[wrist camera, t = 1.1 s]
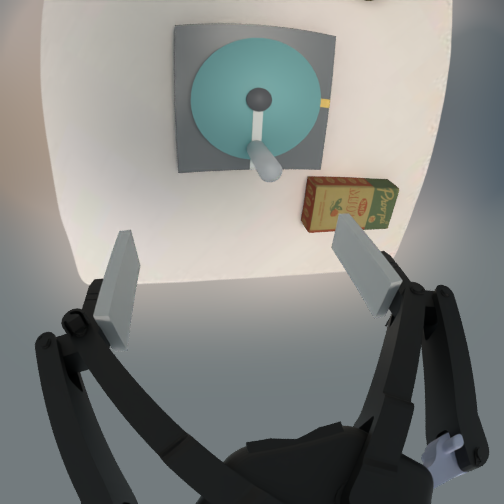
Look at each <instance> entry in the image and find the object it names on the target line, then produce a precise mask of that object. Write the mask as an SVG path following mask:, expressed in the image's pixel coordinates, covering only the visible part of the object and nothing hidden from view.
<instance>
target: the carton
mask: <svg viewBox="0 0 504 504" xmlns="http://www.w3.org/2000/svg"><path fill="white" fill-rule="evenodd" d="M398 193H399V188H398V187H397V186H396V185H394V184H393V183H392V182H390V181H389V180H388V179H369V178H350V177H310V176H308V179H307V186H306V193H305V199H304V205H303V211H302V217H301V221H302V223H303V225H304V227H305V228H306V230H307V231H308V232H309V233H314V232H329V231H335V230H336V225H337V220H338V216H339V214H348V213H349V214H350V215H351V217H352V218H353V219H354V220H355V221H356V222H357V224H358V225H359V226H360V227H361V228H362V229H363V230H369V229H386V228H388V225H389V222H390V219H391V216H392V213H393V209H394V206H395V203H396V199H397V196H398Z"/></svg>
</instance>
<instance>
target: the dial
mask: <svg viewBox="0 0 504 504" xmlns="http://www.w3.org/2000/svg"><path fill="white" fill-rule="evenodd" d="M320 104H321V91H320V85H319V81H318V78H317V76H316V73H315V72H314V70H313V68H312V66H311V65H310V64H309V62H308V61H307V60H306V59H305V58H304V57H303V56H302V55H301V54H300V53H299V52H298V51H296V50H295V49H294V48H292V47H290V46H288V45H287V44H284V43H282V42H279V41H276V40H272V39H266V38H247V39H242V40H238V41H234V42H232V43H229V44H227V45H225V46H223V47H222V48H220V49H218V50H217V51H216V52H214V53H213V54H212V55H211V56H210V57H209V58H208V59H207V60H206V61H205V62H204V63H203V65H202V66H201V67H200V69H199V71H198V73H197V75H196V77H195V79H194V82H193V86H192V91H191V109H192V114H193V117H194V120H195V123H196V125H197V127H198V128H199V130H200V132H201V133H202V134H203V136H204V137H205V138H206V139H207V140H208V141H209V142H210V143H211V144H212V145H213V146H215V147H216V148H217V149H219V150H221V151H222V152H224V153H227V154H229V155H231V156H234V157H238V158H243V159H251V160H252V162H253V164H254V166H255V168H256V170H257V172H258V174H259V176H260V177H261V179H262V180H264V181H266V182H274V181H276V180H278V179H279V178H280V176H281V174H282V167H281V165H280V164H279V162H278V161H277V160H276V158H275V156H278V155H280V154H283V153H285V152H287V151H289V150H290V149H292V148H294V147H295V146H296V145H298V144H299V143H300V142H301V141H302V140H303V139H304V138H305V137H306V136H307V135H308V133H309V132H310V131H311V129H312V127H313V126H314V124H315V122H316V120H317V117H318V114H319V110H320Z"/></svg>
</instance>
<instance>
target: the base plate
mask: <svg viewBox="0 0 504 504" xmlns="http://www.w3.org/2000/svg"><path fill="white" fill-rule="evenodd" d="M247 38H266V39H272V40H276V41H279V42H282V43H284V44H287V45H288V46H290V47H292V48H294V49H295V50H296V51H298V52H299V53H300V54H301V55H302V56H303V57H304V58H305V59H306V60H307V61H308V62H309V64H310V65H311V66H312V68H313V70H314V72H315V73H316V76H317V78H318V81H319V85H320V91H321V104H320V110H319V114H318V117H317V120H316V122H315V124H314V126H313V127H312V129H311V131H310V132H309V133H308V135H307V136H306V137H305V138H304V139H303V140H302V141H301V142H300V143H299V144H298V145H296V146H295V147H294V148H292V149H290V150H289V151H287V152H285V153H283V154H280V155H278V156H275V158H276V160H277V161H278V162H279V164H280V165H281V167H282V169H314V170H320V169H321V163H322V156H323V149H324V142H325V135H326V127H327V120H328V112H329V106H330V95H331V85H332V76H333V65H334V54H335V42H336V36H332V35H327V34H322V33H317V32H312V31H306V30H299V29H293V28H285V27H276V26H266V25H253V24H189V25H175V51H174V85H175V122H176V143H177V159H178V173H187V172H202V171H221V170H249V169H250V170H254V169H256V168H255V166H254V164H253V162H252V160H251V159H243V158H238V157H234V156H231V155H229V154H227V153H224V152H222V151H221V150H219V149H217V148H216V147H215V146H213V145H212V144H211V143H210V142H209V141H208V140H207V139H206V138H205V137H204V136H203V134H202V133H201V132H200V130H199V128H198V127H197V125H196V123H195V120H194V117H193V114H192V109H191V91H192V86H193V82H194V79H195V77H196V75H197V73H198V71H199V69H200V67H201V66H202V65H203V63H204V62H205V61H206V60H207V59H208V58H209V57H210V56H211V55H212V54H213V53H214V52H216V51H217V50H218V49H220V48H222V47H223V46H225V45H227V44H229V43H232V42H234V41H238V40H242V39H247Z"/></svg>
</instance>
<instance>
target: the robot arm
mask: <svg viewBox="0 0 504 504" xmlns="http://www.w3.org/2000/svg"><path fill="white" fill-rule="evenodd" d="M331 248H332V249H333V251H334V252H335V254H336V256H337V257H338V259H339V260H340V262H341V263H342V265H343V267H344V268H345V270H346V271H347V273H348V275H349V276H350V278H351V280H352V281H353V283H354V285H355V286H356V288H357V290H358V291H359V293H360V295H361V296H362V298H363V300H364V301H365V303H366V305H367V307H368V308H369V310H370V312H371V314H372V315H373V317H374V319H375V318H379V317H383V316H385V315H386V313H387V311H388V309H389V310H390V311H391V313H392V314H391V316H390V318H389V320H388V321H387V323H386V325H385V326H387V325H388V327H387V331H386V335H385V339H384V343H383V346H382V350H381V353H380V357H379V361H378V364H377V367H376V370H375V374H374V377H373V380H372V383H371V386H370V389H369V392H368V395H367V398H366V401H365V403H364V406H363V409H362V411H361V414H360V416H359V418H358V419H357V421H356V422H355V424H354V426H353V427H351V426H342V424H341V422H337V423H334V424H330V425H327V426H323V427H319V428H317V429H316V430H314V431H312V432H310V433H308V434H306V435H304V436H302V437H300V438H298V439H272V438H270V439H265V440H259V441H252V442H247V443H246V447H243V448H241V449H239V450H237V451H235V452H234V453H232V454H231V455H230V456H229V457H228V458H226V460H225V461H224V462H222V461H221V460H219V459H218V458H217V457H216V456H214V455H213V454H212V453H211V452H209V451H208V450H207V449H206V448H205V447H203V446H202V445H201V444H200V443H199V442H198V441H196V440H195V439H194V438H193V437H192V436H190V435H189V434H187V433H186V432H185V431H184V430H183V429H182V428H181V427H180V426H179V425H177V424H176V423H175V422H174V421H173V420H172V419H171V418H170V417H169V416H168V415H167V414H166V413H165V412H164V411H163V410H162V409H161V408H160V407H159V406H158V405H157V404H156V403H155V402H154V400H153V399H152V398H151V397H150V396H149V395H148V394H147V393H146V392H145V391H144V390H143V388H141V386H140V385H139V384H138V383H137V382H136V381H135V379H134V378H133V377H132V376H131V375H130V374H129V372H128V371H127V370H126V369H125V368H124V367H123V365H122V364H121V363H120V361H119V360H118V359H117V358H116V356H115V355H114V354H113V353H112V351H111V350H110V349H109V348H110V346H111V348H112V349H113V351H127V350H128V341H129V333H130V325H131V317H132V311H133V304H134V297H135V292H136V286H137V280H138V275H139V270H140V262H139V259H138V255H137V251H136V247H135V244H134V240H133V236H132V232H131V230H125V231H119V234H118V237H117V239H116V242H115V245H114V248H113V251H112V254H111V257H110V260H109V263H108V266H107V269H106V272H105V275H104V279H95V280H94V281H93V282H92V283H91V285H90V286H89V288H88V291H87V295H86V298H85V301H84V304H83V308H82V309H72V310H70V311H68V312H67V313H66V314H65V315H64V317H63V318H62V323H61V324H62V327H63V329H64V330H65V332H66V333H67V334H64V335H62V336H58V337H56V336H55V335H54V334H53V333H52V332H46V333H43V334H41V335H40V336H39V337H38V338H37V340H36V343H35V350H36V358H37V364H38V370H39V376H40V381H41V386H42V391H43V396H44V400H45V404H46V408H47V412H48V416H49V420H50V423H51V427H52V430H53V433H54V436H55V440H56V443H57V445H58V448H59V451H60V454H61V457H62V459H63V462H64V465H65V467H66V470H67V472H68V474H69V477H70V479H71V481H72V484H73V486H74V488H75V490H76V492H77V494H78V496H79V498H80V501H81V504H138V503H137V500H136V498H135V496H134V494H133V492H132V490H131V488H130V486H129V485H128V483H127V481H126V479H125V478H124V476H123V474H122V472H121V470H120V468H119V466H118V465H117V463H116V461H115V459H114V457H113V455H112V453H111V451H110V448H109V446H108V444H107V442H106V440H105V438H104V435H103V433H102V431H101V428H100V426H99V424H98V422H97V419H96V416H95V414H94V411H93V409H92V406H91V403H90V401H89V398H88V395H87V392H86V389H85V386H84V383H83V380H82V377H81V374H80V372H81V371H85V370H88V369H89V370H90V371H91V373H92V374H93V376H94V377H95V379H96V380H97V382H98V383H99V384H100V386H101V387H102V389H103V390H104V391H105V393H106V394H107V396H108V397H109V398H110V399H111V401H112V402H113V403H114V404H115V406H116V407H117V409H118V410H119V411H120V412H121V414H122V415H123V416H124V417H125V419H126V420H127V421H128V422H129V423H130V425H131V426H132V427H133V428H134V429H135V430H136V431H137V433H138V434H139V435H140V436H141V437H142V438H143V439H144V440H145V441H146V443H147V444H148V445H149V446H150V447H151V448H152V449H153V450H154V451H155V452H156V453H157V454H158V455H159V456H160V458H161V459H162V460H163V462H164V463H165V464H166V465H167V466H168V467H169V468H170V469H172V470H173V471H174V472H175V473H176V474H177V475H178V476H179V477H180V478H181V479H183V480H184V481H185V482H186V483H187V484H188V485H189V486H191V487H192V488H193V489H194V490H195V491H196V492H198V493H199V494H200V495H201V497H200V498H199V500H198V501H197V502H196V504H431V499H432V493H433V489H434V488H436V487H438V486H440V485H442V484H444V483H445V482H447V481H449V480H451V479H453V478H454V477H457V476H459V475H462V474H464V473H467V472H469V471H472V470H474V469H476V468H479V467H481V466H483V465H484V464H485V463H486V461H487V459H488V456H489V447H488V443H487V440H486V437H485V434H484V431H483V428H482V425H481V422H480V419H479V416H478V413H477V402H476V394H475V386H474V379H473V373H472V367H471V361H470V357H469V351H468V346H467V342H466V338H465V334H464V329H463V326H462V321H461V318H460V314H459V311H458V307H457V304H456V300H455V297H454V294H453V292H452V291H451V290H450V289H449V288H448V287H447V286H444V285H438V286H437V287H436V289H435V291H426V290H425V289H424V288H423V287H422V286H421V285H420V284H418V283H415V282H411V281H410V280H409V279H408V277H407V276H406V275H405V273H404V272H403V271H402V270H401V268H400V267H399V266H398V264H397V263H395V261H394V259H393V258H392V257H391V256H390V255H389V254H387V253H386V252H385V251H380V250H379V249H378V248H377V247H376V245H375V244H374V243H373V242H372V240H371V239H370V238H369V237H368V235H367V234H366V233H365V232H364V231H363V229H362V228H361V227H360V226H359V225H358V224H357V222H356V221H355V220H354V219H353V218H352V217H351V215H350V214H349V213H348V214H339V216H338V220H337V225H336V230H335V234H334V239H333V243H332V247H331ZM421 347H422V356H423V367H424V380H425V381H424V382H425V407H426V408H425V409H426V440H427V447H426V448H425V452H424V453H423V454H422V457H421V459H422V461H423V465H422V464H420V463H418V462H416V461H414V460H413V459H411V458H409V457H407V456H405V455H404V454H402V450H403V447H404V444H405V441H406V437H407V433H408V430H409V426H410V423H411V419H412V415H413V411H414V404H413V403H412V402H411V397H412V393H413V388H414V384H415V379H416V373H417V367H418V362H419V356H420V349H421Z"/></svg>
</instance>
